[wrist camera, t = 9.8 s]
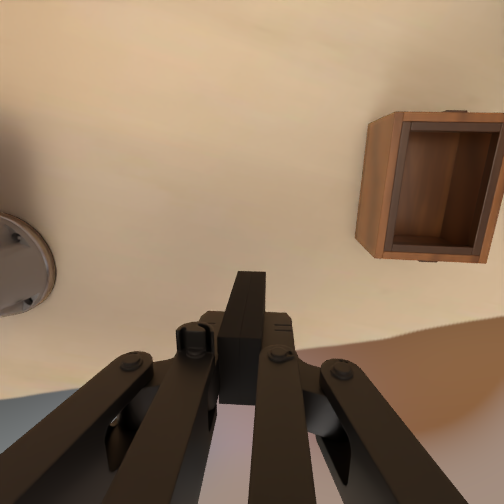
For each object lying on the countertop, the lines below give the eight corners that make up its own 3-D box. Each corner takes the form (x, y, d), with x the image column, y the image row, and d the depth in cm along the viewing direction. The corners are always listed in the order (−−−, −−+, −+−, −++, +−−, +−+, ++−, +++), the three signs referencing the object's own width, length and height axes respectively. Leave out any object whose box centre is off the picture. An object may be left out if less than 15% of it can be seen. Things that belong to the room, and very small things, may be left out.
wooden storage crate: (374, 260, 32) (486, 265, 31) (395, 109, 28) (524, 110, 27) (354, 239, 41) (441, 243, 40) (368, 121, 37) (465, 123, 36)
